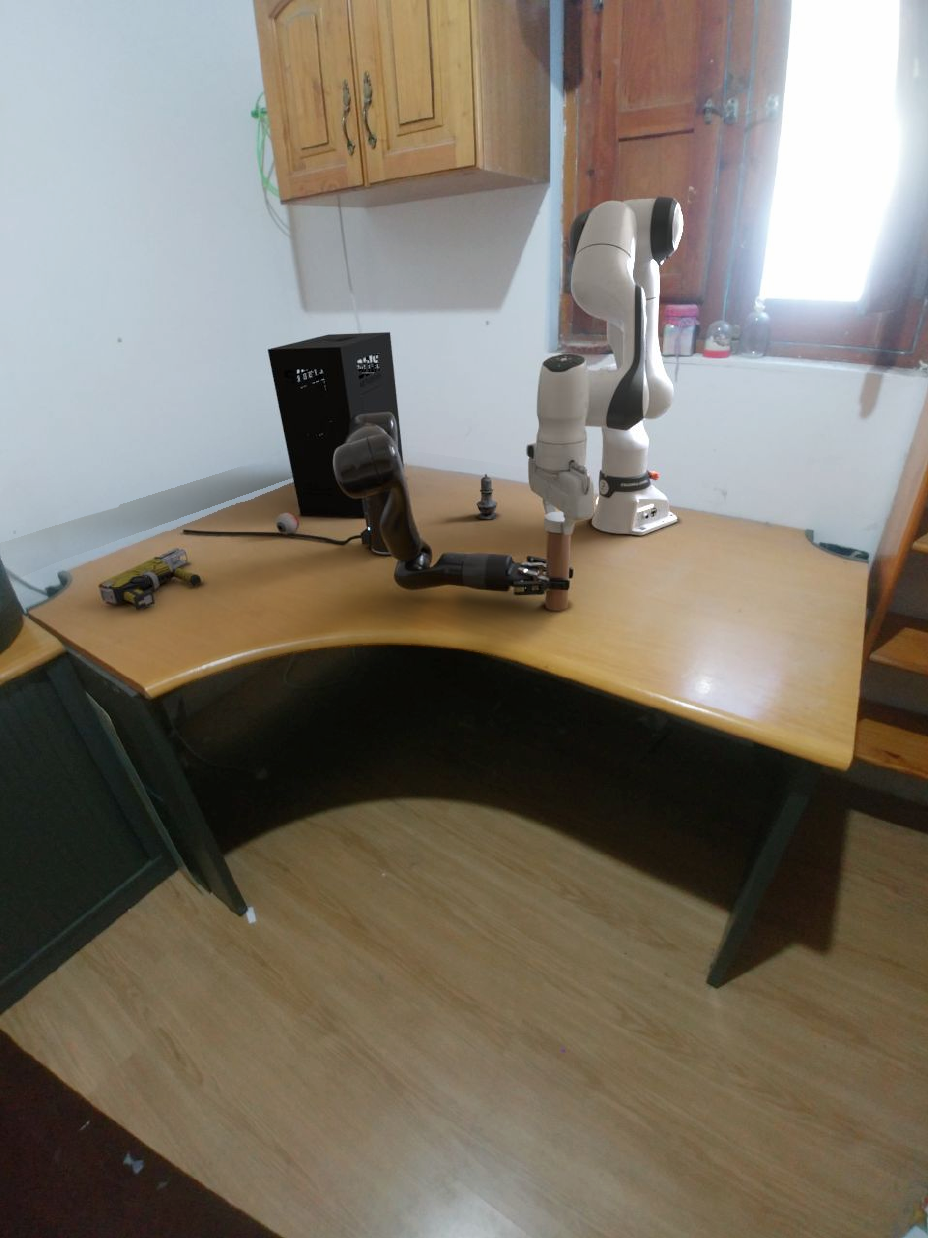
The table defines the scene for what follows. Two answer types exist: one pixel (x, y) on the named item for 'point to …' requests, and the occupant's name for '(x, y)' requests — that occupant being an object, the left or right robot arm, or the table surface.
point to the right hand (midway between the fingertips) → (558, 527)
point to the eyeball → (287, 523)
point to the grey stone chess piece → (486, 500)
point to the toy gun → (146, 580)
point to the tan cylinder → (557, 568)
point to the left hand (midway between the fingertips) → (570, 578)
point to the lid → (554, 521)
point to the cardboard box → (330, 409)
